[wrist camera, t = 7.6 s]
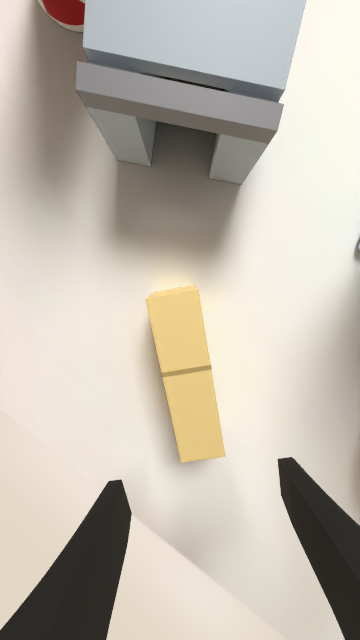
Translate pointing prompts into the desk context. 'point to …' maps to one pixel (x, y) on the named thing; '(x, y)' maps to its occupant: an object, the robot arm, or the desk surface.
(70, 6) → the soda can
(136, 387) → the desk surface
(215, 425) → the stepped yellow block
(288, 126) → the desk surface
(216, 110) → the dispenser
